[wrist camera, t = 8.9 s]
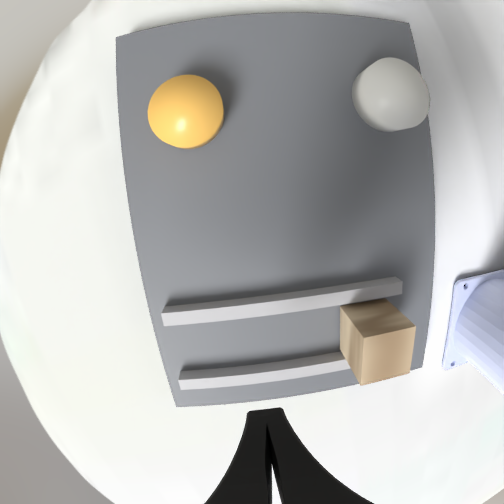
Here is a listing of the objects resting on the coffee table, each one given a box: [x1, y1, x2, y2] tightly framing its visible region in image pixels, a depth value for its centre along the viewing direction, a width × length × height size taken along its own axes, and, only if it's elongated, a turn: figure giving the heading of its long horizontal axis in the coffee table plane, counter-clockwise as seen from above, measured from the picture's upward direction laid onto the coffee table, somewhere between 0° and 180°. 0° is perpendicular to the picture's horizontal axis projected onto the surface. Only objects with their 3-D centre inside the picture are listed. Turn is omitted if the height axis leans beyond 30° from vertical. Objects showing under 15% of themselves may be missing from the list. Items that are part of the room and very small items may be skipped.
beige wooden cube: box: [340, 298, 416, 386], centre depth 17 cm, size 3×3×4 cm
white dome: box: [352, 57, 430, 132], centre depth 13 cm, size 4×4×2 cm
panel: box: [116, 13, 435, 407], centre depth 18 cm, size 18×24×2 cm
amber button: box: [148, 75, 224, 149], centre depth 15 cm, size 4×4×2 cm
